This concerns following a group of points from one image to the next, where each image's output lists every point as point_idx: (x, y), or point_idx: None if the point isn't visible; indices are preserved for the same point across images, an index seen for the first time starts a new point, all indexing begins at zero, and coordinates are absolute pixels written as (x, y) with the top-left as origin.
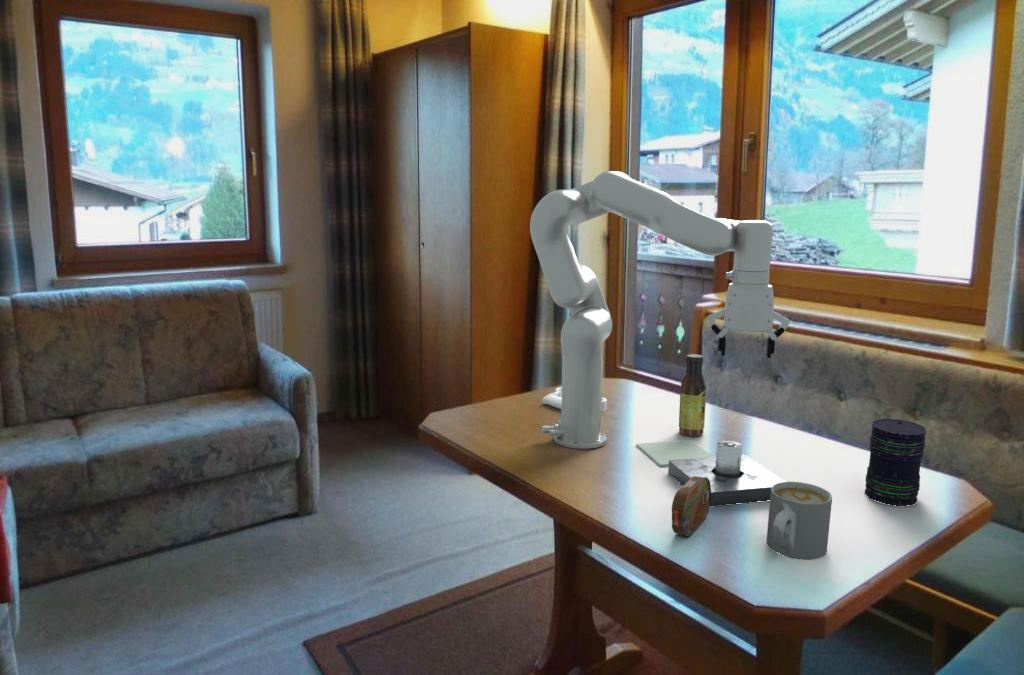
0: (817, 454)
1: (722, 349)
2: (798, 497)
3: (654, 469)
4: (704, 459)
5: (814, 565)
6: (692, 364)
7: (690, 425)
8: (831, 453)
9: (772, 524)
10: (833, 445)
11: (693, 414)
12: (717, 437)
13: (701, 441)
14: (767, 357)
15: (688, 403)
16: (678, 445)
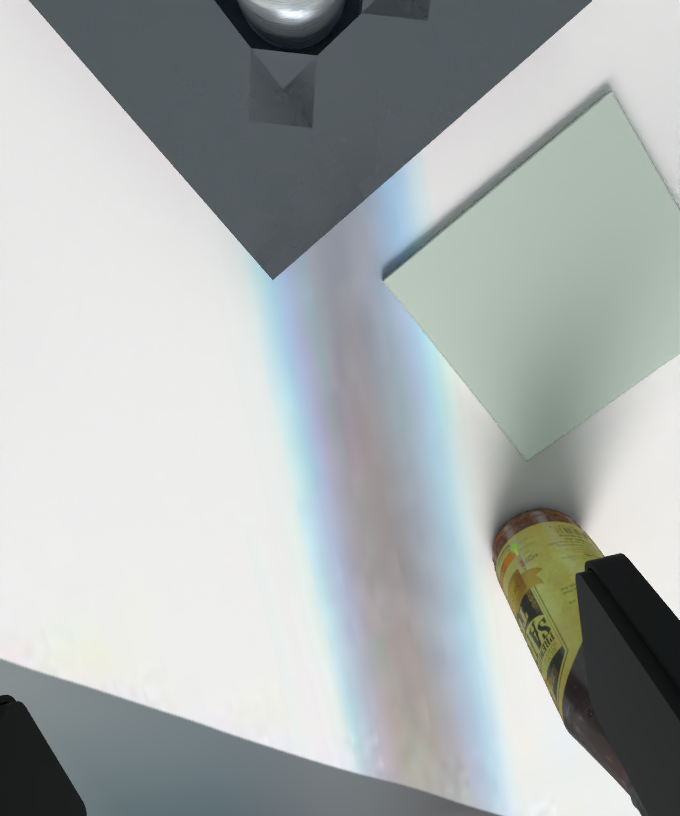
0: (66, 545)
1: (662, 608)
2: None
3: (629, 43)
4: (427, 109)
5: None
6: None
7: (551, 532)
8: (27, 577)
9: None
10: (45, 653)
11: (561, 565)
12: (435, 551)
13: (484, 483)
14: (17, 703)
15: None
16: (565, 376)
